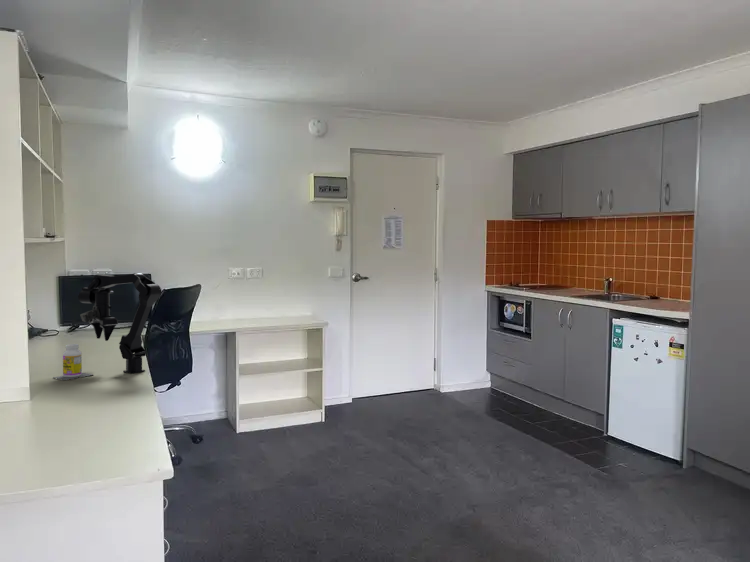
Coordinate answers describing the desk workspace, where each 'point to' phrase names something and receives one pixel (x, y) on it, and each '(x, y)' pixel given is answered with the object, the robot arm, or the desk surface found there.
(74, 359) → the supplement bottle
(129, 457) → the desk surface
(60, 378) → the mat
